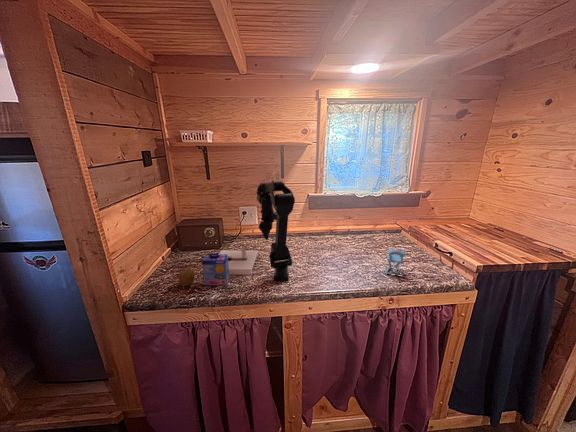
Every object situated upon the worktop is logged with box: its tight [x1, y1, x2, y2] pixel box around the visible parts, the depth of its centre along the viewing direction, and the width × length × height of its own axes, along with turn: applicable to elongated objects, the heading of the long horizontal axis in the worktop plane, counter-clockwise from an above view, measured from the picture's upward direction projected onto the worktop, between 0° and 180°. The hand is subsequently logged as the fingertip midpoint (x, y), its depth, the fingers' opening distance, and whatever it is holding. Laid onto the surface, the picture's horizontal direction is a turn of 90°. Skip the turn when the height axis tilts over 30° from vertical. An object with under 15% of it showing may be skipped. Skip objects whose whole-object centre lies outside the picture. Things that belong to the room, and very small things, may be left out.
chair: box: [384, 247, 406, 277], centre depth 107 cm, size 8×8×12 cm
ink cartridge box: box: [201, 253, 230, 286], centre depth 98 cm, size 10×6×14 cm, turn 94°
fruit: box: [178, 267, 195, 287], centre depth 97 cm, size 6×6×8 cm
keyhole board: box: [217, 249, 259, 276], centre depth 115 cm, size 20×20×3 cm
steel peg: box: [241, 246, 247, 261], centre depth 114 cm, size 4×4×9 cm
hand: (267, 236), depth 120 cm, fingers open, 9 cm apart
